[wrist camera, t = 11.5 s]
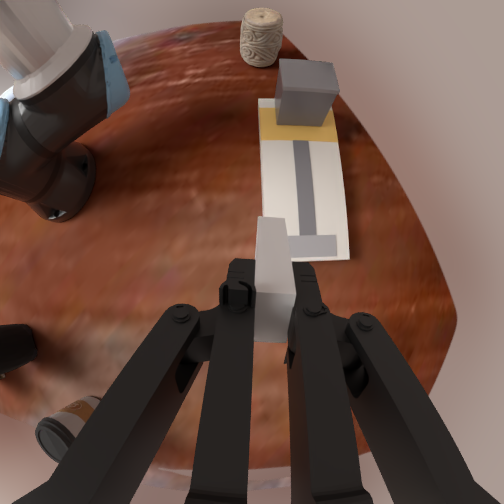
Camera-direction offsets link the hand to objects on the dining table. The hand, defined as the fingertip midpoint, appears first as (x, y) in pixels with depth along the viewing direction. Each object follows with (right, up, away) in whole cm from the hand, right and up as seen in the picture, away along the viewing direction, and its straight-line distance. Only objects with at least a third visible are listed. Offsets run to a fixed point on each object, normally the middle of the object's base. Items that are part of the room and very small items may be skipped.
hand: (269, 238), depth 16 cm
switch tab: (+6, +21, +23) cm, 32 cm away
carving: (0, +36, +28) cm, 46 cm away
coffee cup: (-30, -30, +23) cm, 48 cm away
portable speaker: (-47, -19, +23) cm, 55 cm away
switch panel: (+6, +11, +26) cm, 29 cm away
